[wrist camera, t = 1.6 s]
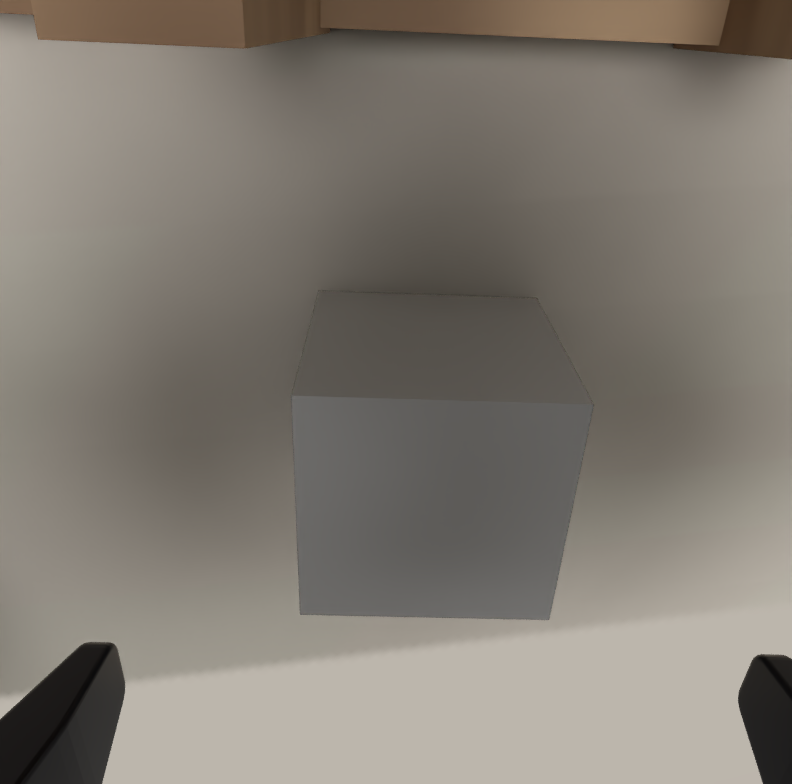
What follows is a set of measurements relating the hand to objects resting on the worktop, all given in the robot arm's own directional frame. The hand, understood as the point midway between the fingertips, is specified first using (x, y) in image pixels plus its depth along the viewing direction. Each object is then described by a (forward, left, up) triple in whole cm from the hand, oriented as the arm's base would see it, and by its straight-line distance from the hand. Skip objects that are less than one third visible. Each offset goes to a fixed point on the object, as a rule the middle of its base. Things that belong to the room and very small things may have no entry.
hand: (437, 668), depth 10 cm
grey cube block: (0, 0, -6) cm, 6 cm away
